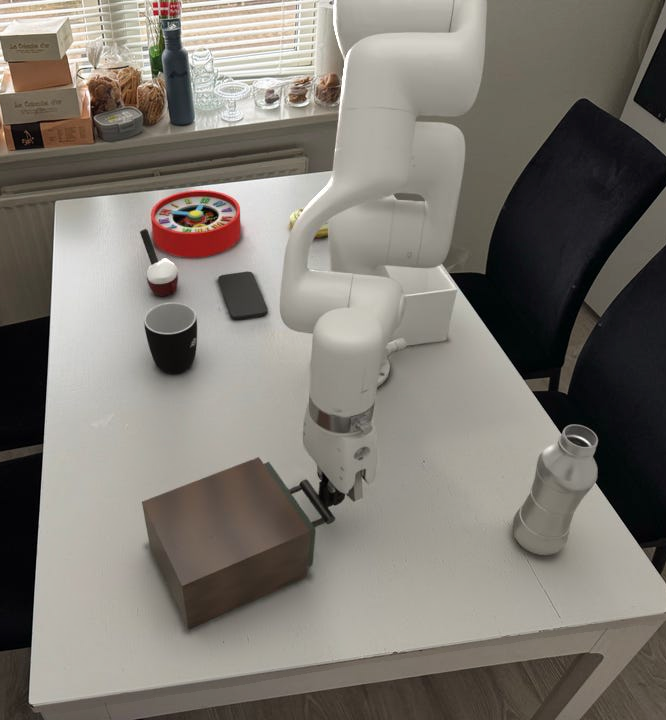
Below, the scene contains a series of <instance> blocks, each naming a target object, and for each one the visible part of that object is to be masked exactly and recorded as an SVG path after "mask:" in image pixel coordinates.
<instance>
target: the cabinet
mask: <svg viewBox="0 0 666 720" xmlns="http://www.w3.org/2000/svg"><path fill="white" fill-rule="evenodd" d="M141 506H142V512H143V517H144V522H145V528H146V534H147V538H148V544H149V548H150V550H151V552H152V555H153V557H154V559H155V561H156V563H157V566H158V567H159V570H160V572H161V575H162V576H163V578H164V581H165V583H166V585H167V587H168V589H169V591H170V593H171V596H172V598H173V600H174V603H175V605H176V606H177V609H178V611H179V613H180V615H181V618H182V620H183V622H184V624H185V627H186V628H187V630H191V629H192V628H194V627H198V626H199V625H201V624H203V623H206V622H208V621H210V620H213V619H214V618H217V617H219V616H222V615H224V614H227V613H228V612H231V611H232V610H235V609H237V608H239V607H242V606H244V605H246V604H249V603H251V602H253V601H255V600H258V599H259V598H262V597H265V596H266V595H269V594H271V593H273V592H276V591H278V590H280V589H283V588H284V587H286V586H289V585H291V584H293V583H295V582H298V581H300V580H302V579H304V578H307V577H308V568H309V567H308V555H309V541H310V530H309V529H308V527H307V526H306V524H305V523H304V522H303V520H302V519H301V517H300V516H299V514H298V513H297V511H296V510H295V509H294V507H293V506H292V504H291V503H290V501H289V500H288V498H287V497H286V495H285V494H284V493H283V491H282V490H281V488H280V487H279V485H278V484H277V482H276V481H275V480H274V478H273V477H272V475H271V474H270V472H269V471H268V469H267V468H266V467H265V465H264V462H263V461H262V459H261V458H260V457H259V456H257V457H255V458H252V459H249V460H247V461H244V462H241V463H239V464H236V465H234V466H231V467H228V468H225V469H224V470H221V471H218V472H216V473H213V474H210V475H208V476H205V477H202V478H200V479H197V480H195V481H192V482H189V483H186V484H184V485H182V486H178V487H176V488H174V489H171V490H169V491H166V492H164V493H160V494H157V495H156V496H153V497H150V498H148V499H145V500H143V501H141Z"/></svg>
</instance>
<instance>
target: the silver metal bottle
mask: <svg viewBox="0 0 666 720" xmlns="http://www.w3.org/2000/svg"><path fill="white" fill-rule="evenodd" d="M598 442H599V438H598V436H597V434H596V433H595V432H594V431H593V430H592V429H590V428H589V427H587V426H584V425H581V424H569V425H567V426H565V427H564V428H563V430H562V433H561V435H560V436H559V438H558V440H557V442H555V443H552V444H550V445H548V446H547V447H545V448H544V449H543V450H542V451H541V452H540V453H539V455H538V457H537V461H536V467H535V473H534V479H533V482H532V485H531V488H530V492H529V494H528V495H527V497H526V499H525V501H524V502H523V504H522V505H520V507H519V508H518V510H517V511H516V513H515V514H514V516H513V519H512V533H513V536H514V538H515V539H516V541H517V542H518V544H519V545H520V546H521V547H522V548H523V549H524V550H526V551H528V552H530V553H532V554H535V555H539V556H550V555H553V554H557V553H558V552H559V551H561V549H562V548H563V547H564V546H565V545H566V544H567V543H568V539H569V536H570V535H569V534H570V528H571V524H572V520H573V517H574V515H575V512H576V510H577V509H578V507H579V505H580V504H581V502H582V501H583V499H584V498H585V496H586V495H587V494H588V493H589V491H591V489H592V488H593V487H594V485H595V484H596V482H597V480H598V470H599V469H598V464H597V462H596V460H595V457H594V455H595V453H596V449H597V446H598V444H599V443H598Z"/></svg>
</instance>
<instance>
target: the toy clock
mask: <svg viewBox="0 0 666 720" xmlns="http://www.w3.org/2000/svg"><path fill="white" fill-rule="evenodd" d="M150 220H151V230H152V238H153V243H154V244H155V246H156V247H157V248H158V249H159V250H161V251H162V252H164V253H166V254H168V255H172V256H175V257H180V258H188V259H189V258H192V259H193V258H206V257H210V256H214V255H218V254H220V253H223V252H225V251H227V250H229V249H231V248H232V247H234V246H235V245H236V244H237V243H238V242H239V241H240V238H241V235H242V234H241V233H242V226H241V206H240V203H239V202H238V201H237V200H236V199H235V198H233V196H230V195H228V194H226V193H223V192H220V191H215V190H204V189H199V190H197V189H196V190H186V191H182V192H177V193H174V194H171V195H168V196H166V197H164V198H162V199H161V200H159V201H158V202H157V203H156V204H155V205H153V206H152V209H151V211H150Z"/></svg>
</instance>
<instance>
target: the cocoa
mask: <svg viewBox="0 0 666 720" xmlns="http://www.w3.org/2000/svg"><path fill="white" fill-rule="evenodd" d="M139 233H140V236H141V240H142V243H143V245H144V248H145V251H146V252H147V256H148V260H149V261H150V265H149V267H148V269H147V271H146V281H147V285H148V287H149V289H150V291H151V292H152V293H153V294H154V295H156V296H159V297H166V296H169V295H173V294H175V293H176V292H177V287H178V281H179V275H178V273H179V271H178V267H177V266H176V265H175V264H174V262H173V261H170V259H168V258H162V259H161V260H159V259H158V255H157V253H156V250H155V248H154V247H155V246H154V243H153V241H152V239H151V236H150V232H149V230H148V228H144V229H142V230H140V232H139Z"/></svg>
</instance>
